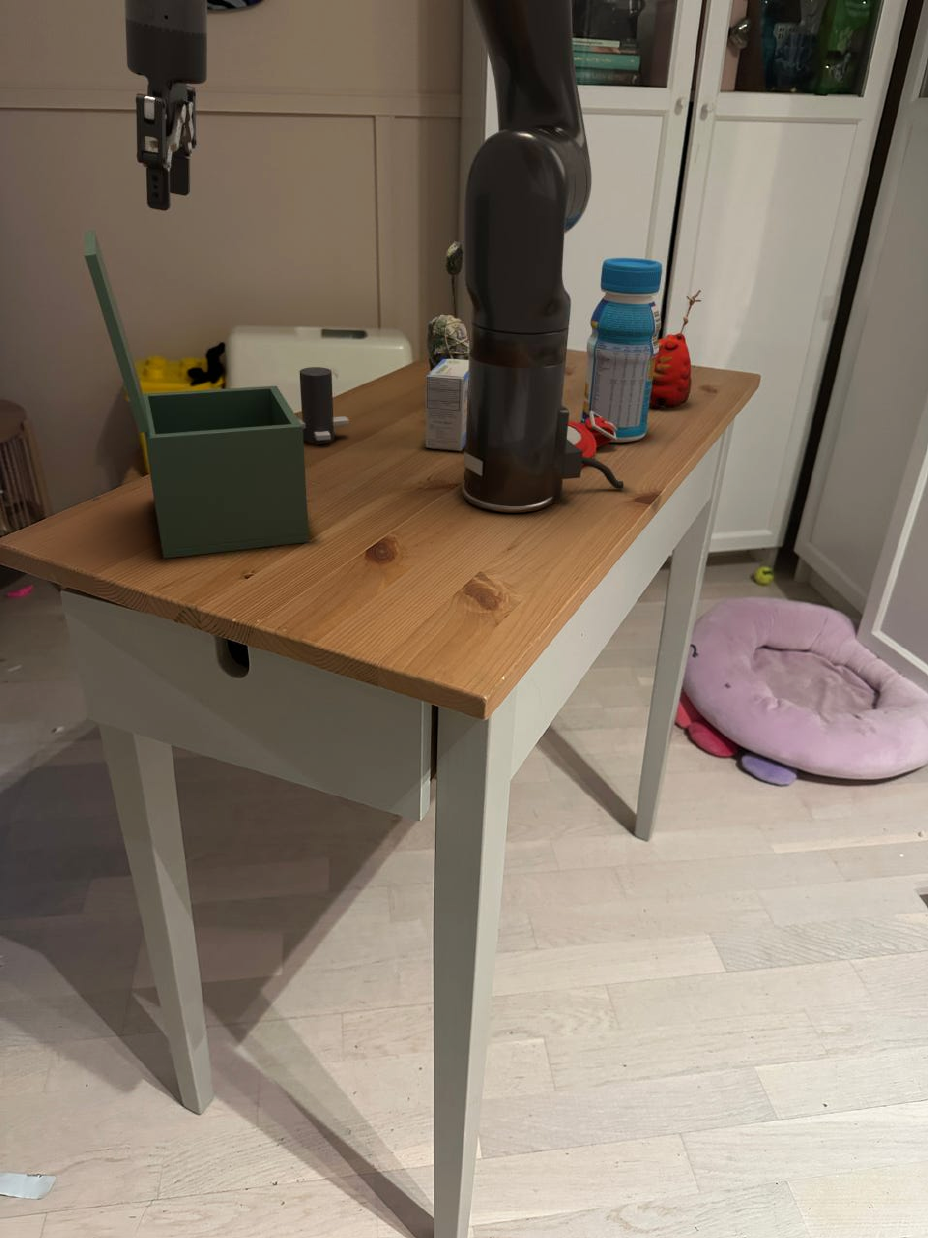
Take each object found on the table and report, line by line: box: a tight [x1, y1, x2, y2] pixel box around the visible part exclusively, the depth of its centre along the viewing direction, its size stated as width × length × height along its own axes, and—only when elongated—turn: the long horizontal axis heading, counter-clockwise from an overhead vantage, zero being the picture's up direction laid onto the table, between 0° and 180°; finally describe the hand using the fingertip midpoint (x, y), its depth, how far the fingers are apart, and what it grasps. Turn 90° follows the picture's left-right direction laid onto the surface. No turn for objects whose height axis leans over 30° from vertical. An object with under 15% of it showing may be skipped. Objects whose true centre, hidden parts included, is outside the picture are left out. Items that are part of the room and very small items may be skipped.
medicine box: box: [425, 359, 469, 452], centre depth 103 cm, size 8×4×9 cm, turn 168°
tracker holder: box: [567, 411, 617, 468], centre depth 103 cm, size 12×4×10 cm
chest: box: [143, 385, 310, 560], centre depth 80 cm, size 13×13×11 cm
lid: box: [84, 230, 149, 434], centre depth 72 cm, size 13×13×1 cm
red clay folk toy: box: [649, 289, 702, 409], centre depth 118 cm, size 8×7×15 cm
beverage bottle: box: [579, 257, 663, 443], centre depth 105 cm, size 8×8×20 cm
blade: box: [298, 366, 350, 445], centre depth 102 cm, size 7×6×8 cm
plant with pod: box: [426, 241, 470, 372], centre depth 112 cm, size 8×11×20 cm
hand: (169, 200), depth 95 cm, fingers open, 8 cm apart
